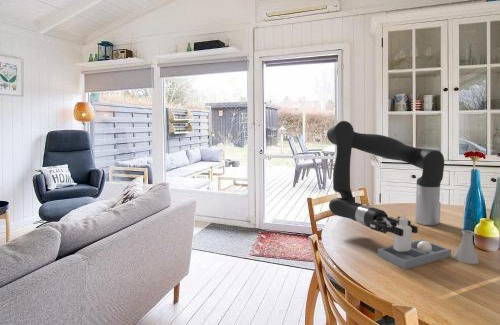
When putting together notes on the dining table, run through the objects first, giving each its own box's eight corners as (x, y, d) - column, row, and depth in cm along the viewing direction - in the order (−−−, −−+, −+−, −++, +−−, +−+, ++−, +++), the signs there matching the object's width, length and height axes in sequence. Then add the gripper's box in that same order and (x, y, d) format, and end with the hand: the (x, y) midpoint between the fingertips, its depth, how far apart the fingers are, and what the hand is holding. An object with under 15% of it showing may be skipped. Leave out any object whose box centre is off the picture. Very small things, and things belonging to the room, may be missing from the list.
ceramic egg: (423, 250, 110) (423, 238, 109) (434, 254, 106) (435, 242, 105) (414, 252, 108) (414, 240, 107) (425, 257, 104) (426, 244, 103)
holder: (421, 246, 114) (421, 238, 114) (450, 258, 104) (451, 249, 103) (377, 257, 106) (377, 248, 106) (404, 270, 96) (404, 261, 95)
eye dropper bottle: (391, 246, 105) (393, 212, 104) (409, 247, 104) (411, 213, 102) (394, 251, 101) (395, 215, 100) (412, 253, 100) (415, 217, 98)
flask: (484, 266, 97) (486, 236, 96) (458, 265, 99) (460, 235, 98) (473, 257, 104) (474, 228, 103) (449, 255, 106) (450, 227, 105)
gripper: (355, 209, 112) (393, 223, 96) (386, 205, 117) (426, 217, 102) (355, 229, 113) (392, 246, 97) (385, 224, 118) (425, 239, 103)
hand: (409, 231), depth 99 cm, fingers closed on eye dropper bottle, 5 cm apart
